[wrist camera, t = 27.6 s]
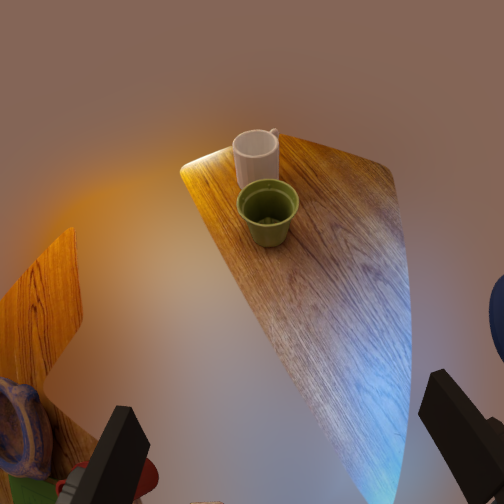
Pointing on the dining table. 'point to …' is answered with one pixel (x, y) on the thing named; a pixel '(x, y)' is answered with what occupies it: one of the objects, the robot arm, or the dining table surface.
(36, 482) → the book
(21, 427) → the bowl
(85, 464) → the sauce bottle
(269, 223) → the plant pot
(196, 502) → the cup
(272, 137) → the mug
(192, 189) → the dining table surface
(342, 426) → the dining table surface
